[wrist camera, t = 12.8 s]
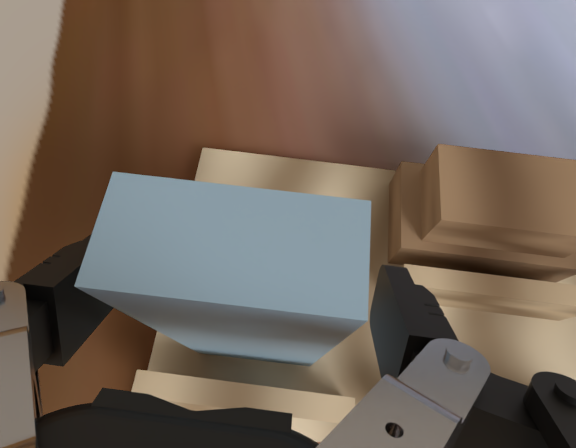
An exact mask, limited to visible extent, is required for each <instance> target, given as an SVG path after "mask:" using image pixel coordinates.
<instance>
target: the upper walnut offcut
mask: <svg viewBox="0 0 576 448" xmlns="http://www.w3.org/2000/svg"><path fill="white" fill-rule="evenodd" d="M420 190H421V241H429V242H437V243H445V244H453V245H462V246H470V247H478V248H486V249H494V250H502V251H510V252H518V253H527V254H535V255H543V256H551V257H559V258H565V257H568V256H570V255H572V254H574V253H576V160H571V159H562V158H554V157H545V156H537V155H528V154H520V153H511V152H503V151H494V150H486V149H477V148H469V147H461V146H452V145H444V144H438V145H437V146H436V148H435V149H434V151H433V152H432V154H431V156H430V157H429V159H428V160H427V162H426V163H425V165H424V166H423V168H422V169H421V171H420Z"/></svg>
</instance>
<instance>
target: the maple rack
mask: <svg viewBox="0 0 576 448" xmlns="http://www.w3.org/2000/svg"><path fill="white" fill-rule="evenodd" d="M395 172H396V171H395V170H387V169H379V168H370V167H362V166H354V165H345V164H337V163H328V162H320V161H312V160H303V159H295V158H287V157H278V156H270V155H262V154H253V153H245V152H237V151H228V150H220V149H211V148H203V149H202V153H201V157H200V161H199V165H198V169H197V173H196V177H195V181H200V182H209V183H218V184H227V185H235V186H244V187H253V188H262V189H271V190H280V191H289V192H298V193H306V194H315V195H324V196H333V197H342V198H351V199H360V200H368V201H371V228H370V264H369V300H368V321H367V322H366V323H365V324H363V325H362V326H361V327H360V328H358V329H357V330H356V331H354V332H353V333H352V334H351V335H349V336H348V337H347V338H345V339H344V340H343V341H342V342H340V343H339V344H338V345H336V346H335V347H334V348H333V349H331V350H330V351H329V352H328V353H326V354H325V355H324V356H322V357H321V358H320V359H319V360H317V361H316V362H315V363H313V364H312V365H311V366H302V365H294V364H285V363H277V362H269V361H260V360H252V359H243V358H235V357H227V356H218V355H210V354H202V353H197V352H195V351H194V350H192V349H190V348H188V347H186V346H184V345H182V344H181V343H179V342H177V341H175V340H173V339H171V338H169V337H168V336H166V335H164V334H162V333H160V332H158V331H157V333H156V337H155V341H154V345H153V349H152V354H151V358H150V362H149V366H148V370H147V371H146V370H138V369H137V372H136V376H135V379H134V383H133V387H132V391H131V392H137V393H145V394H150V395H153V396H155V397H158V398H160V399H163V400H166V401H168V402H171V403H173V404H176V405H179V406H181V407H184V408H186V409H189V410H194V411H201V410H214V409H227V408H240V407H248V408H256V409H263V410H270V411H278V412H285V413H292V427H291V429H292V430H294V431H297V432H299V433H301V434H303V435H305V436H307V437H309V438H311V439H312V440H314V441H315V442H322V440H323V439H324V438H325V437H326V436H327V435H328V434H329V433H330V432H331V431H332V430H333V429H334V428H335V427H336V426H337V425H338V424H339V423H340V422H341V421H342V419H343V418H344V417H345V416H346V415H347V414H348V413H349V412H350V411H351V410H352V409H353V408H354V407H355V406H356V405H357V404H358V403H359V402H360V401H361V400H362V398H363V397H364V396H365V395H366V394H367V393H368V392H369V391H370V390H371V389H372V388H373V387H374V386H375V385H376V384H377V383H378V382H379V381H380V380H381V375H380V371H379V366H378V361H377V357H376V352H375V348H374V343H373V339H372V334H371V329H370V310H371V305H372V300H373V296H374V291H375V287H376V282H377V278H378V273H379V269H380V267H381V265H390V266H398V267H406V268H407V269H408V271H409V273H410V275H411V278H412V280H413V282H414V284H417V285H423V286H424V287H425V288H426V289H427V290H429V291H430V292H431V293H432V294H433V295H434V296H435V298H436V300H437V301H438V303H439V305H440V308H441V309H442V311H443V313H444V316H445V317H446V318H447V320H448V322H449V324H450V326H451V327H452V329H453V331H454V333H455V335H456V337H457V338H458V340H459V342H462V343H465V344H467V345H469V346H471V347H472V348H474V349H475V350H477V351H478V352H479V353H481V354H482V355H483V356H484V357H485V358H486V360H487V361H488V363H489V365H490V368H491V373H493V374H496V375H498V376H501V377H504V378H507V379H509V380H512V381H515V382H518V383H521V384H524V385H527V386H529V383H530V381H531V379H532V377H533V375H534V374H536V373H538V372H546V371H547V372H554V373H558V374H562V375H565V376H567V377H570V378H572V379H574V380H576V275H574V276H571V277H569V278H566V279H564V280H561V281H558V282H556V283H555V282H547V281H539V280H531V279H523V278H515V277H506V276H498V275H490V274H482V273H474V272H466V271H458V270H450V269H442V268H434V267H426V266H418V265H410V264H404V265H398V264H390V263H388V215H389V183H390V181H391V180H392V178H393V176H394V174H395Z"/></svg>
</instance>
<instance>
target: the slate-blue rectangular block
mask: <svg viewBox="0 0 576 448" xmlns="http://www.w3.org/2000/svg"><path fill="white" fill-rule="evenodd" d="M370 228H371V201H368V200H360V199H351V198H342V197H333V196H324V195H315V194H306V193H298V192H289V191H280V190H271V189H262V188H253V187H244V186H235V185H227V184H218V183H209V182H200V181H191V180H182V179H173V178H165V177H156V176H147V175H138V174H129V173H120V172H113V173H112V176H111V179H110V182H109V185H108V188H107V191H106V194H105V197H104V199H103V202H102V205H101V208H100V211H99V214H98V217H97V220H96V223H95V226H94V229H93V232H92V235H91V238H90V241H89V244H88V247H87V250H86V253H85V256H84V259H83V262H82V265H81V267H80V270H79V273H78V276H77V279H76V282H75V285H74V287H76V288H78V289H80V290H82V291H84V292H85V293H87V294H89V295H91V296H93V297H95V298H97V299H98V300H100V301H102V302H104V303H106V304H108V305H110V306H112V307H113V308H115V309H117V310H119V311H121V312H123V313H125V314H126V315H128V316H130V317H132V318H134V319H136V320H138V321H140V322H141V323H143V324H145V325H147V326H149V327H151V328H153V329H154V330H156V331H158V332H160V333H162V334H164V335H166V336H168V337H169V338H171V339H173V340H175V341H177V342H179V343H181V344H182V345H184V346H186V347H188V348H190V349H192V350H194V351H195V352H197V353H202V354H210V355H218V356H227V357H235V358H243V359H252V360H260V361H269V362H277V363H285V364H294V365H302V366H311V365H312V364H313V363H315V362H316V361H317V360H319V359H320V358H321V357H322V356H324V355H325V354H326V353H328V352H329V351H330V350H331V349H333V348H334V347H335V346H336V345H338V344H339V343H340V342H342V341H343V340H344V339H345V338H347V337H348V336H349V335H351V334H352V333H353V332H354V331H356V330H357V329H358V328H360V327H361V326H362V325H363V324H365V323H366V322H367V321H368V300H369V264H370Z"/></svg>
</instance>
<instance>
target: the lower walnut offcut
mask: <svg viewBox="0 0 576 448" xmlns="http://www.w3.org/2000/svg"><path fill="white" fill-rule="evenodd" d="M424 165H425V164H421V163H412V162H404V161H401V163H400V165H399V167H398V169H397V170H396V172H395V174H394V176H393V178H392V180H391V181H390V183H389V215H388V263H390V264H398V265H404V264H410V265H418V266H426V267H434V268H442V269H450V270H458V271H466V272H474V273H482V274H490V275H498V276H506V277H515V278H523V279H531V280H539V281H547V282H555V283H556V282H558V281H561V280H564V279H566V278H569V277H571V276H574V275H576V253H574V254H572V255H570V256H568V257H565V258H559V257H551V256H543V255H535V254H527V253H518V252H510V251H502V250H494V249H486V248H478V247H470V246H462V245H453V244H445V243H437V242H429V241H421V190H420V171H421V169H422V168H423V166H424Z"/></svg>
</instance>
